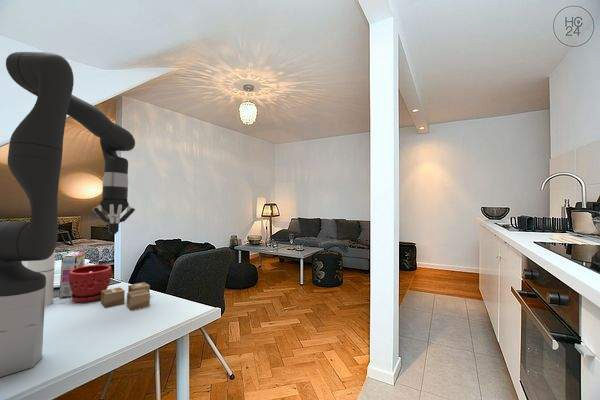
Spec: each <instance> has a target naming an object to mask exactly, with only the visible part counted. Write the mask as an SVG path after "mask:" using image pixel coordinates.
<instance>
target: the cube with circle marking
mask: <svg viewBox="0 0 600 400" xmlns="http://www.w3.org/2000/svg"><path fill="white" fill-rule="evenodd" d="M127 286H128V287H127V289H128V290H127V293H128V292H133V291H139V290H144V289H145V290H147V291H148V292H149V293H150V292H151V291H150V288H151V285H150V284H148V283H146V282H145V281H143V282H139V283H134V284H128V285H127Z"/></svg>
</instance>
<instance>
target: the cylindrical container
mask: <svg viewBox="0 0 600 400" xmlns="http://www.w3.org/2000/svg"><path fill="white" fill-rule="evenodd" d="M55 261H56V249H55V250H54V252H53V254H52V255H51V256H50V257H49V258H48V259H45V260H40V261H27V267H26V268H28V269H30V270H32V271H35V272H38V273H42V274H44V275H45V277H46V290H45V307H48V306H50V305H53V301H54V300H53V299H54V284H55V283H54V282H55V266H56V265H55V264H56V263H55Z"/></svg>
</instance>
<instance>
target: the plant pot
mask: <svg viewBox="0 0 600 400" xmlns="http://www.w3.org/2000/svg"><path fill="white" fill-rule="evenodd" d="M111 278H112V266H111V265H108V264H90V265H84V266H83V267H78V268H75V269H72V270H71V271H70V272H69V284H70V288H71V291H72V293H73V295H72V296H71V297H70V298H71V299H72V300H73V301H74V302H75V303H76V302H78V303H87V302H93V301H97V300H101V291H102V290H107V289H109V288H108V287H109V286H110V283H111ZM77 281H78V282H77Z"/></svg>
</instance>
